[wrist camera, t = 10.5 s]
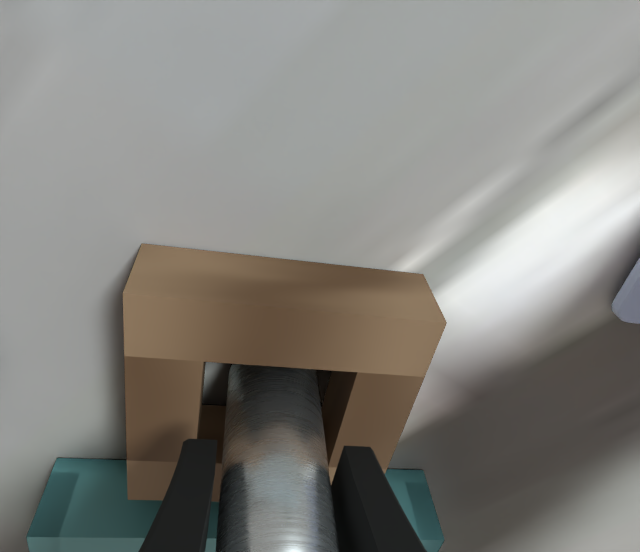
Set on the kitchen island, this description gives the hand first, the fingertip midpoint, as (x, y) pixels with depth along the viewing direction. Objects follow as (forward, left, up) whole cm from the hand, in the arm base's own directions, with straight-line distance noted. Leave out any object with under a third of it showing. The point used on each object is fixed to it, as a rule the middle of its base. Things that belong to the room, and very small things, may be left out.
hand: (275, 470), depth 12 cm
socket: (0, 0, -4) cm, 4 cm away
